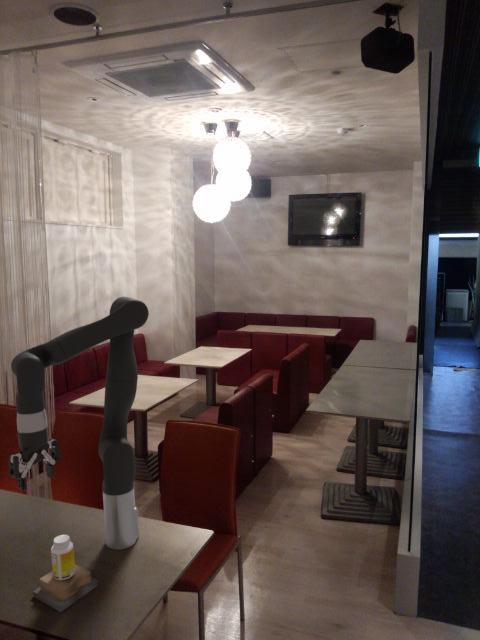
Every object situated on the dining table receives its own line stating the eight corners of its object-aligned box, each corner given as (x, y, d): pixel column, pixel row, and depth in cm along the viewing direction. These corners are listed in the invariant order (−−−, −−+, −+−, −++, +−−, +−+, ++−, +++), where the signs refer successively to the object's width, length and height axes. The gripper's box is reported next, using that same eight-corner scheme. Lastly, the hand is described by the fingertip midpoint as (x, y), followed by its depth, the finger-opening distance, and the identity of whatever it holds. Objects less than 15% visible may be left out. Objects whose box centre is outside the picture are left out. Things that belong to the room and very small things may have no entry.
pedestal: (71, 571, 143) (70, 556, 142) (98, 585, 137) (97, 569, 136) (33, 596, 133) (32, 580, 132) (60, 612, 127) (59, 595, 126)
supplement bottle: (79, 568, 137) (76, 533, 135) (69, 582, 131) (66, 545, 130) (59, 567, 137) (56, 532, 136) (49, 581, 132) (46, 544, 130)
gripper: (45, 416, 145) (50, 470, 148) (-1, 432, 133) (5, 491, 136) (63, 421, 141) (67, 476, 144) (17, 437, 130) (22, 497, 132)
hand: (37, 483), depth 140 cm, fingers open, 8 cm apart
